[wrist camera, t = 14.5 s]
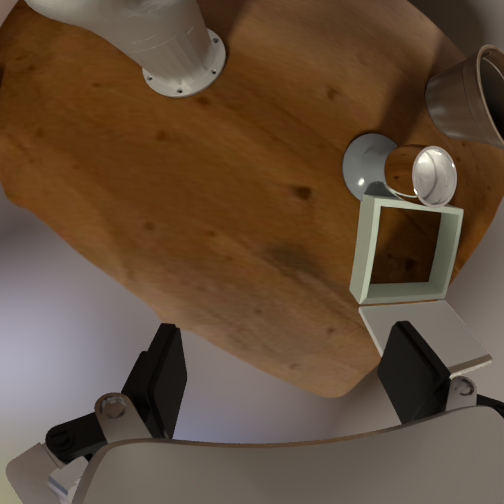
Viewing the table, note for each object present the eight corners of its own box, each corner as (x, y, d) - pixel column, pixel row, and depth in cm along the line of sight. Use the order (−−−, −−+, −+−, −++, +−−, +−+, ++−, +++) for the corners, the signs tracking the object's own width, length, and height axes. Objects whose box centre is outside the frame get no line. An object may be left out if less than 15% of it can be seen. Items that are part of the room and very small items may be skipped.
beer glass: (354, 146, 35) (407, 142, 21) (394, 145, 35) (456, 145, 21) (358, 193, 38) (411, 212, 23) (397, 190, 37) (458, 208, 23)
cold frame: (361, 193, 38) (375, 198, 34) (446, 203, 39) (463, 209, 34) (349, 289, 43) (359, 304, 39) (430, 286, 44) (444, 298, 39)
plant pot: (486, 129, 33) (544, 131, 18) (444, 166, 37) (510, 176, 21) (447, 56, 29) (502, 36, 14) (398, 83, 32) (459, 58, 17)
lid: (399, 387, 24) (396, 392, 24) (492, 358, 24) (489, 363, 25) (359, 306, 39) (358, 312, 39) (444, 300, 39) (443, 305, 39)
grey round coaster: (342, 129, 35) (344, 128, 35) (404, 140, 35) (407, 140, 35) (339, 201, 39) (341, 202, 38) (400, 206, 39) (403, 207, 38)
